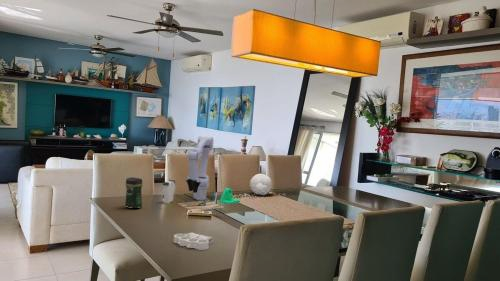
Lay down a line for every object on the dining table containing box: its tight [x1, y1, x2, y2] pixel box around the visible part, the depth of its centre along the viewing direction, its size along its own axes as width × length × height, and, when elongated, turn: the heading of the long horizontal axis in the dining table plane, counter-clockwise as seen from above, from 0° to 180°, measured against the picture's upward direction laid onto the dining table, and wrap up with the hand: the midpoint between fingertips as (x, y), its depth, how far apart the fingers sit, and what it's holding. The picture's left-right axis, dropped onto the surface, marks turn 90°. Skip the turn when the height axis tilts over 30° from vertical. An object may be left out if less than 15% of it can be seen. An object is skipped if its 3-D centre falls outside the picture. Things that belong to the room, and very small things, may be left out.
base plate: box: [176, 197, 223, 212], centre depth 242 cm, size 21×22×4 cm
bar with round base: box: [186, 200, 206, 206], centre depth 241 cm, size 5×12×2 cm, turn 125°
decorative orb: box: [249, 173, 272, 196], centre depth 292 cm, size 20×18×16 cm
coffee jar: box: [124, 177, 143, 208], centre depth 234 cm, size 10×8×19 cm
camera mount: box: [219, 187, 241, 205], centre depth 256 cm, size 12×8×10 cm, turn 138°
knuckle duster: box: [173, 232, 214, 251], centre depth 173 cm, size 3×18×15 cm
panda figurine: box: [162, 179, 176, 204], centre depth 248 cm, size 12×11×15 cm
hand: (192, 191), depth 244 cm, fingers open, 5 cm apart
